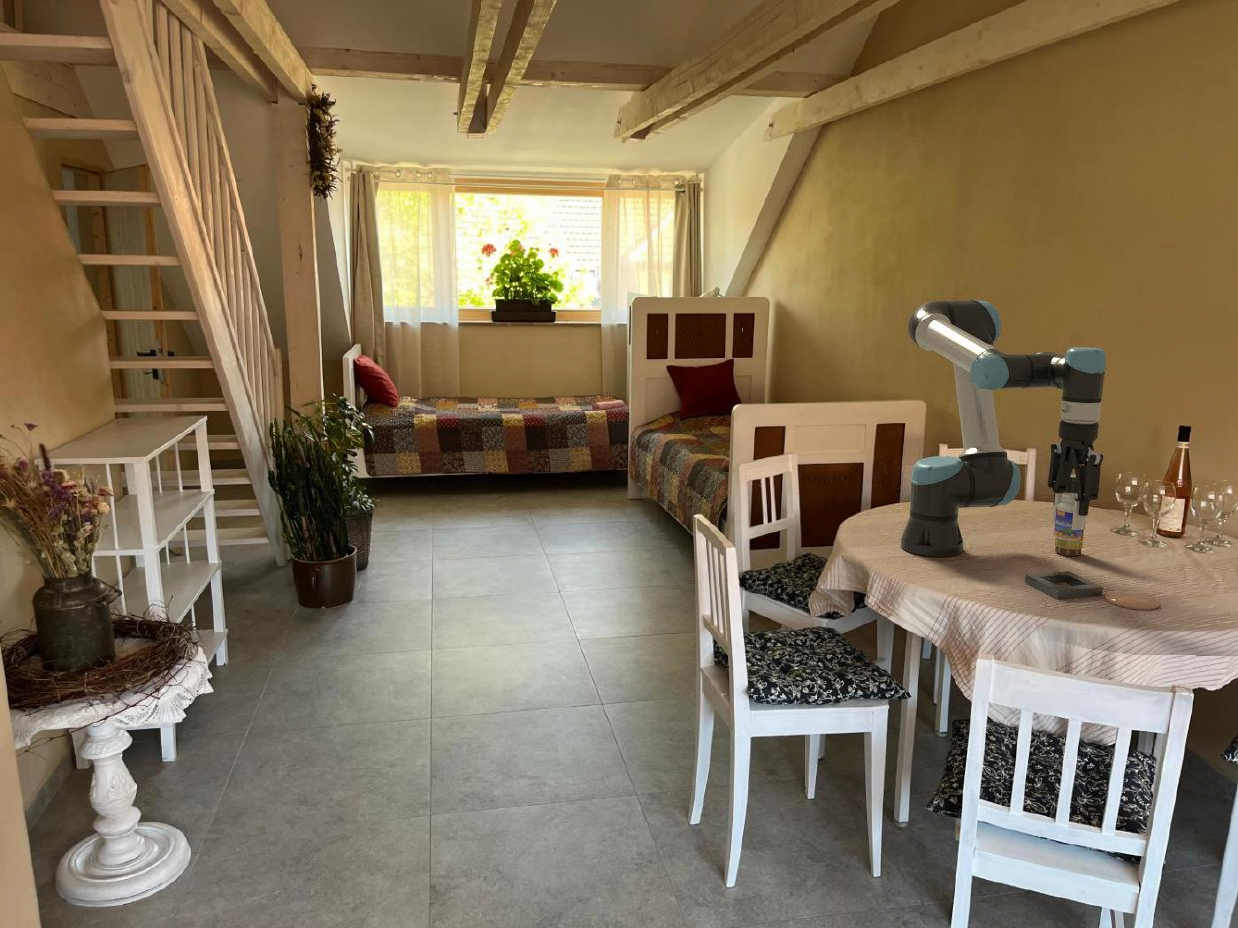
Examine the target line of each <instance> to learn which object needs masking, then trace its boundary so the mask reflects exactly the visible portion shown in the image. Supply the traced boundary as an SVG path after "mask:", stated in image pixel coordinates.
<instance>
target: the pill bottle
mask: <svg viewBox="0 0 1238 928" xmlns="http://www.w3.org/2000/svg"><path fill="white" fill-rule="evenodd" d="M1075 499H1078V495H1077V494H1075V493H1065V492H1064V493H1063V494H1062V498H1061V500H1062V502H1061V503H1059V504H1058V505H1057V510H1056V519H1055V522H1054V527H1053V536H1054V538H1055V537H1056V538H1058V539H1061V540H1067V541H1077V540H1080V539H1081V535H1082V530H1072V520H1073V510H1074V501H1075Z"/></svg>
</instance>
